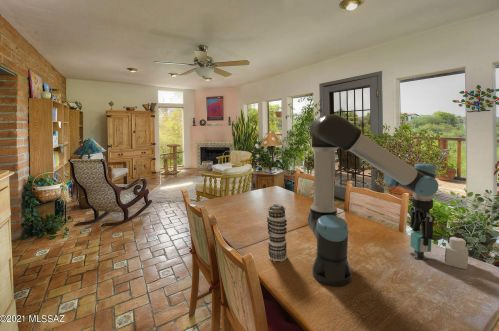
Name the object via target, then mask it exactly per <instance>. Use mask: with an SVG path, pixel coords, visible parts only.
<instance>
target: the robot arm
mask: <svg viewBox="0 0 499 331" xmlns="http://www.w3.org/2000/svg"><path fill="white" fill-rule="evenodd" d="M309 134H310V137H311V148H312V150H314V172H313V173H314V176H313V177H314V179H313V180H314V182H313V203H312V204H311V205H310V208H309V213H308V215H307V224H308V226H309V229H310V230H311V232H312V234H313V236H314V237H315V239H316V257H315V259H314V262H313V265H312V270H311V272H312V276H313V278H315V280H316V281H318V282H320V283H321V284H323V285H327V286H331V287H343V286H344V287H345V286H347V285H348V284H350V283H351V282H352V269H351V267H350V263H349V260H348V248H349V246H348V244H349V226H348V223H347V221H346V220H345V219H343V218H342V217H339V216H338V207H336V205H335V204H334V203H335V202H334V200H335V176H336V175H335V172H336V171H335V170H336V151H337V150H338V149H341V150H343V151H344V152H351V153H353V155H355V156H357V157H358V158H360V159H362V160H363V161H365V163H368V164H370V165H371V166H372V167H374V168H375V169H377V170H378V171H380V172H382V173H383V174H384V182H385V184H386V185H387V186H388V187H392V188H396V187H399V188H402V189H404V190H407V191H409V192H412V201H411V205H412V207H410V211H411V212H410V222H409V223H410V224H409V227H410V228H411V229H412V231H413V232H422V237H421V243H420V252H424V253H429V252H428V241H429V239H431V240H433V236H434V231H433V230H434V221H435V217H434V216H431V214H430V210H433V208H434V195H435V194H436V193H437V192H438V191H439V182H438V181H437V179H436V176H437V174H436V166H435V165H434V164H432V163H425V162H424V163H415V164H414V166H411V165H410V164H408V163H407V162H406V161H404V160H403V159H401V158H399V157H398V156H397V155H395V154H393V153H392V152H390V151H389V150H387V149H386V148H384V147H382V146H381V145H380V144H378V143H377V142H376V141H374V140H373V139H370V138H369V137H367V136H366V135H365V134H363V130H362V129H360V128H359V127H357V125H355V124H353V123H352V122H350V121H349V120H347V119H346V118H345V117H342V116H341V115H339V114H331V113H329V114H326V115H321V116H318V117H316V119H314V120H313V121H312V122H311V124H310V126H309Z"/></svg>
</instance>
